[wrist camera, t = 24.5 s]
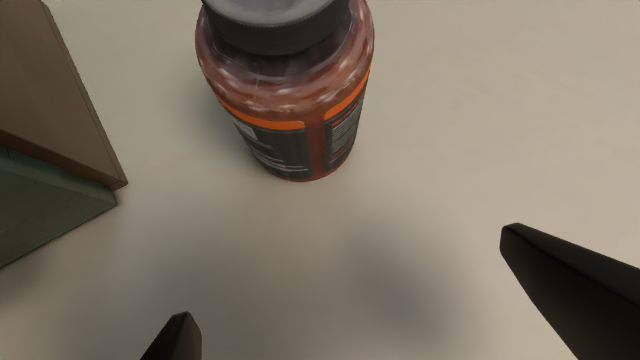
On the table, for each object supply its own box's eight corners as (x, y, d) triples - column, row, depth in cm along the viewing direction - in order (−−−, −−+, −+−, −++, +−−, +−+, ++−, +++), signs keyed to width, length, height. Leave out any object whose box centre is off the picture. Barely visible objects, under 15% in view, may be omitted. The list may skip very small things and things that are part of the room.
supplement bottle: (358, 92, 20) (404, -129, 9) (349, 190, 18) (390, 73, 7) (259, 82, 20) (179, -145, 9) (242, 178, 18) (120, 48, 7)
